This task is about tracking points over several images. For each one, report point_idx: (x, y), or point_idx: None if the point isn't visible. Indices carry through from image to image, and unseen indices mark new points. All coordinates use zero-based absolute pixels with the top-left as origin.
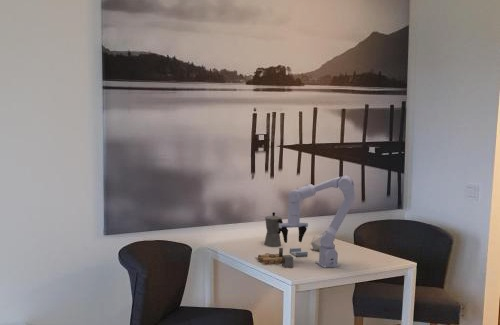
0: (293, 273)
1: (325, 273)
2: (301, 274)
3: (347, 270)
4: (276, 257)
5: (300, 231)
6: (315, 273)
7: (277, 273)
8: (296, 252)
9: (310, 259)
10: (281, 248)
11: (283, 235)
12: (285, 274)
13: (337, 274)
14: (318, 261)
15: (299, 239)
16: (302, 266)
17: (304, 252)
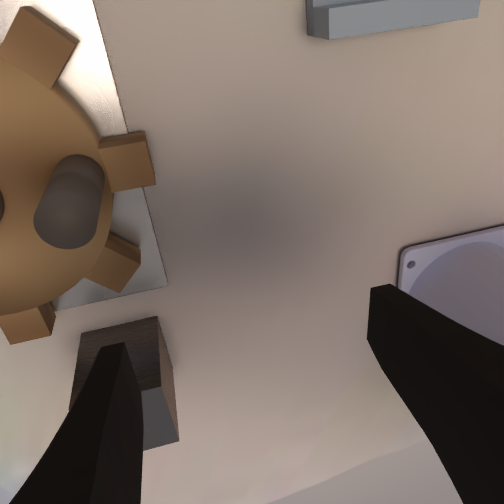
0: (147, 474)
1: (342, 446)
2: (195, 480)
3: None
4: (18, 228)
5: (490, 480)
6: (286, 454)
7: None
8: (331, 26)
9: (415, 134)
10: (72, 232)
11: (63, 457)
12: None
13: (396, 450)
14: (430, 248)
15: (386, 335)
16: (256, 340)
17: (435, 22)
